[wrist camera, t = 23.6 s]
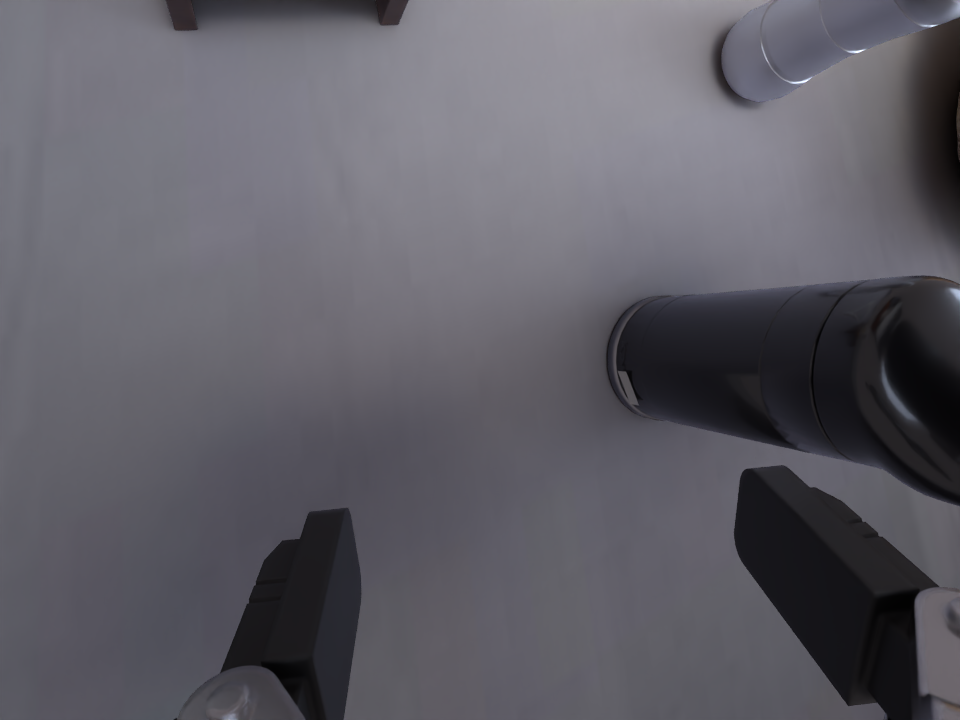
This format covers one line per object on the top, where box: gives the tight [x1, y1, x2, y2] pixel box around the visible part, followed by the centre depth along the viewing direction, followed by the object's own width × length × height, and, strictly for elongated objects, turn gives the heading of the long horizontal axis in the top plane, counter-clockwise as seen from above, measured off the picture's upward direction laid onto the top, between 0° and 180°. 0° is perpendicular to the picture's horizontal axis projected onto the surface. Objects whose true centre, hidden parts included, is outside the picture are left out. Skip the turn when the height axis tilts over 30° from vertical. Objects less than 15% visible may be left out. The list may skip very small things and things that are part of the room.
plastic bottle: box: [721, 0, 960, 102], centre depth 37 cm, size 6×7×20 cm
